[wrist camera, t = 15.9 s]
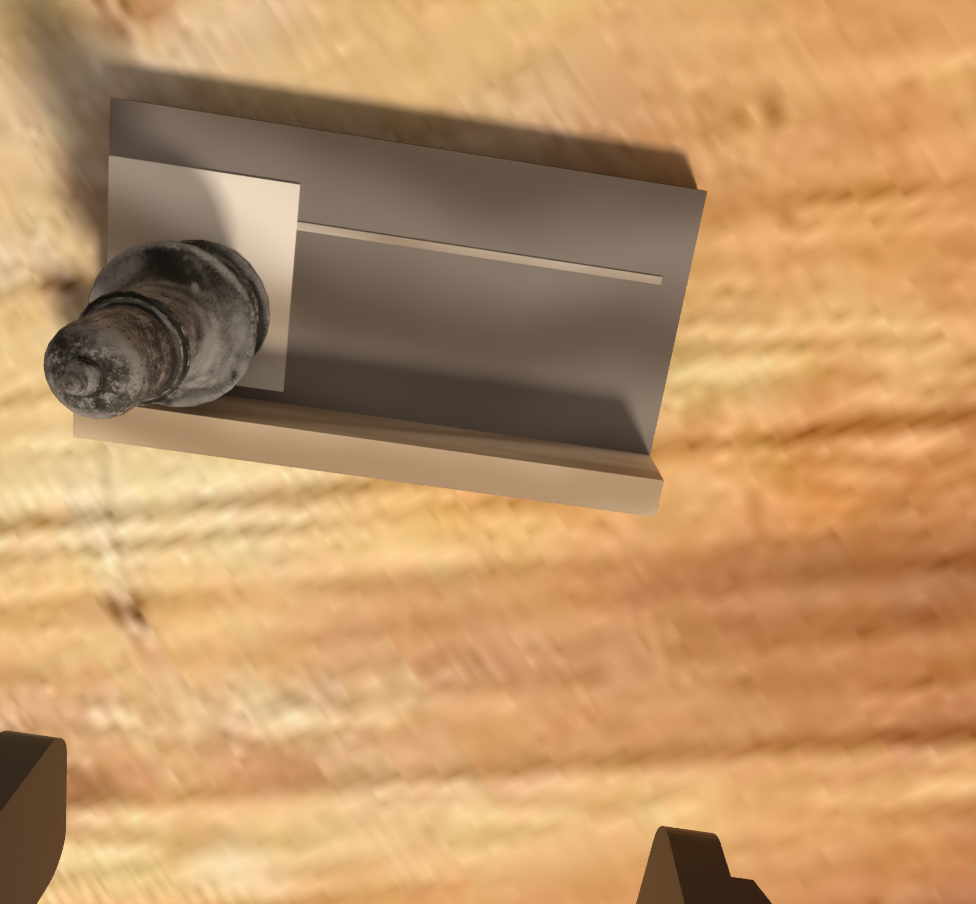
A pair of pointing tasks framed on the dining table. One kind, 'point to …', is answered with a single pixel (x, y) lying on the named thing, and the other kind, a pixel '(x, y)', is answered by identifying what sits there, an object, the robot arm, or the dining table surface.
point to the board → (418, 306)
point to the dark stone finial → (160, 330)
